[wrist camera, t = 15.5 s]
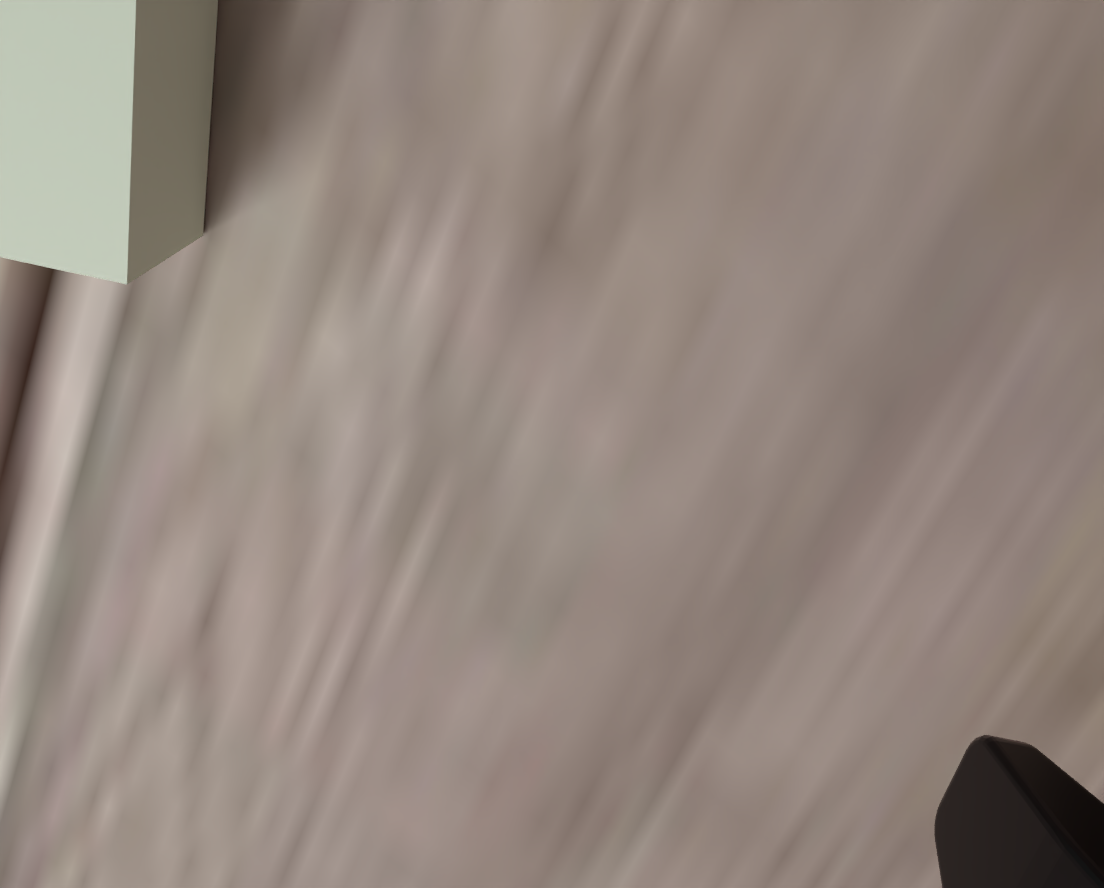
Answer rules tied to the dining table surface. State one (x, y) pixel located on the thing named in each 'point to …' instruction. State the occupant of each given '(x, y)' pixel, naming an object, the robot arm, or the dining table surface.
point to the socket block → (104, 131)
